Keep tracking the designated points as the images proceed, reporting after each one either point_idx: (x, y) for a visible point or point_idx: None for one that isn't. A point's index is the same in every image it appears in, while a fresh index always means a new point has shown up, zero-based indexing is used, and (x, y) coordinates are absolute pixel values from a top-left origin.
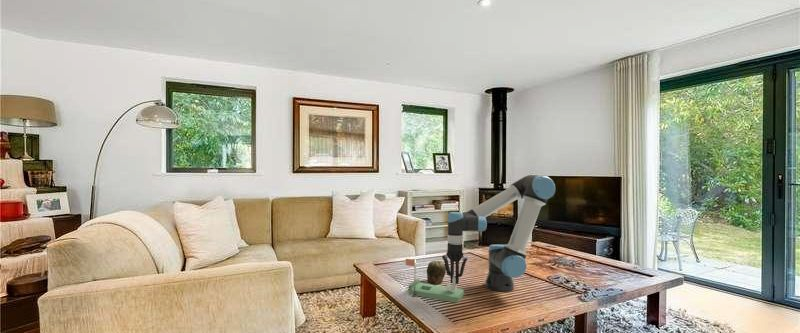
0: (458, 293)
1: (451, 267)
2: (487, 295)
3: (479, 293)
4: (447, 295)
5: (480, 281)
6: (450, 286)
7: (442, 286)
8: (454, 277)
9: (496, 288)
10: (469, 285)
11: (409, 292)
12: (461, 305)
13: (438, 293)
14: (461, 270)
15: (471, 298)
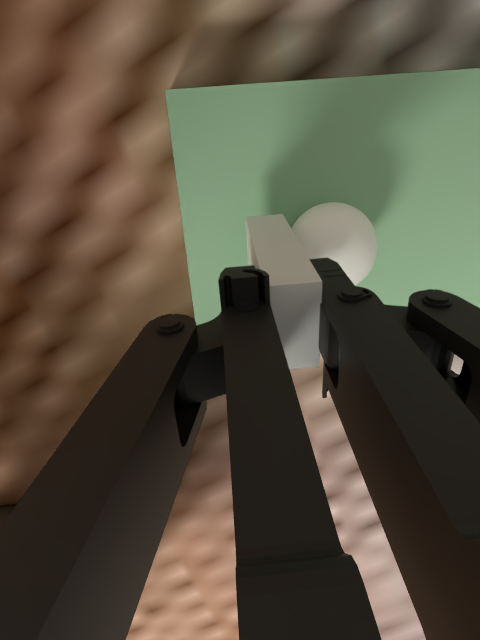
0: (213, 235)
1: (437, 414)
2: (21, 406)
3: None
4: (312, 101)
5: (186, 579)
6: (320, 236)
7: None
8: (288, 299)
9: (5, 520)
10: (228, 502)
11: None
12: (103, 25)
13: (434, 109)
14: (117, 409)
15: (102, 282)
